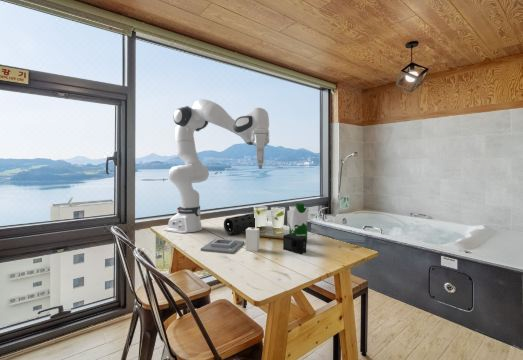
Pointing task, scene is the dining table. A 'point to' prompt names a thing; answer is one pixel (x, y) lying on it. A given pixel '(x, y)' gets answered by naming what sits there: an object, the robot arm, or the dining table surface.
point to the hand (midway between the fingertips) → (260, 164)
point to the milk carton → (298, 220)
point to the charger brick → (252, 239)
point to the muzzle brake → (239, 223)
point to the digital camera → (294, 243)
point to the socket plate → (223, 246)
